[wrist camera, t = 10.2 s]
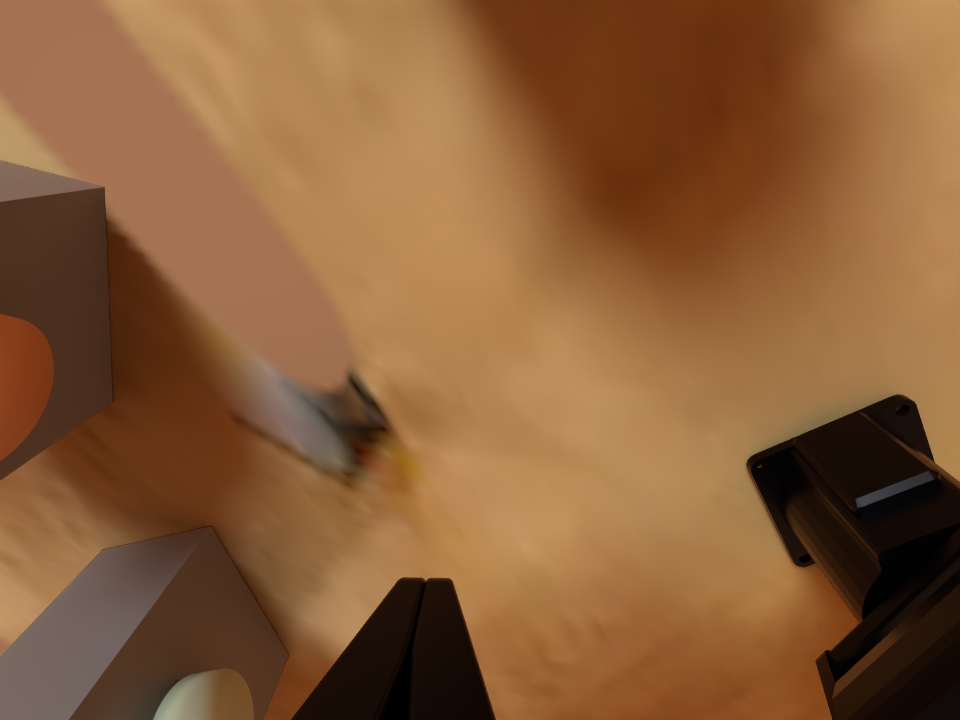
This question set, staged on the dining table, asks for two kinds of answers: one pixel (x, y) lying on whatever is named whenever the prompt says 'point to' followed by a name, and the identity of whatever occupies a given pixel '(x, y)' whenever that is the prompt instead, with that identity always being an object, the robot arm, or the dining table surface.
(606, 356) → the dining table surface
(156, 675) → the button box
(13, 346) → the terracotta button
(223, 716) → the sage button
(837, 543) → the robot arm
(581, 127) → the dining table surface
